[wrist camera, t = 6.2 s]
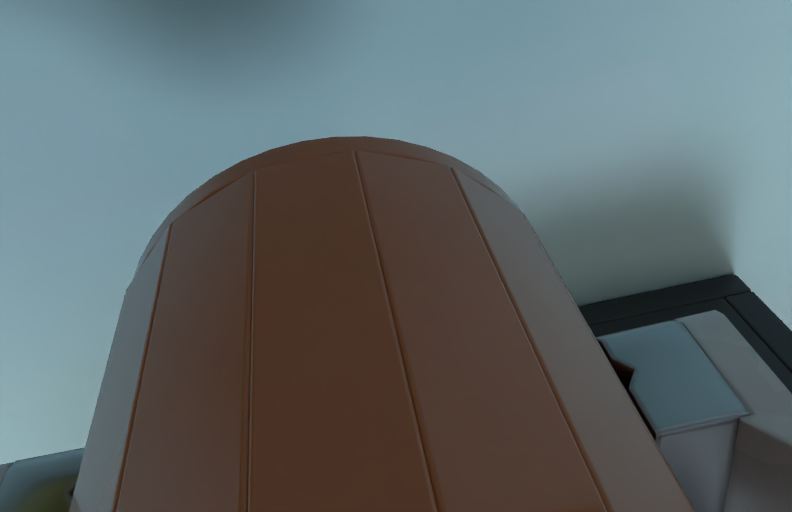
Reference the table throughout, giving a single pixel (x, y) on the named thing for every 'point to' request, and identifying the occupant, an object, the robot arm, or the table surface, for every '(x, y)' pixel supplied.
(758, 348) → the black storage bin
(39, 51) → the table surface
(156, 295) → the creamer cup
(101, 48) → the table surface
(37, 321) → the table surface
